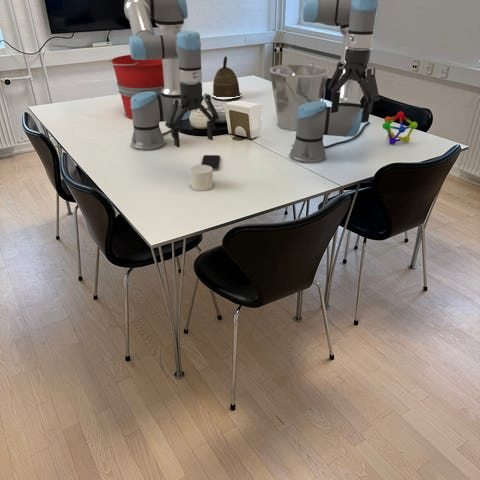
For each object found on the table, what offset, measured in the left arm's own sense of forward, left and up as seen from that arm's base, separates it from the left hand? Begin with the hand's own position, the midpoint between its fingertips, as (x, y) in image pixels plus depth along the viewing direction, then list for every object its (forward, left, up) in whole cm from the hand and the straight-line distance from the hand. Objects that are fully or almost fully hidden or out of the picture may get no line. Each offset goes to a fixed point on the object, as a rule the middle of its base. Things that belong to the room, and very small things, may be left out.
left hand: (193, 142), depth 161 cm
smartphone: (-22, +2, -17) cm, 28 cm away
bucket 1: (-90, -46, -17) cm, 103 cm away
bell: (-132, -7, -17) cm, 133 cm away
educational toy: (-59, +85, -17) cm, 104 cm away
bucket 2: (-80, +37, -17) cm, 90 cm away
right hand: (+2, +54, +12) cm, 55 cm away
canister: (+1, +3, -17) cm, 17 cm away
